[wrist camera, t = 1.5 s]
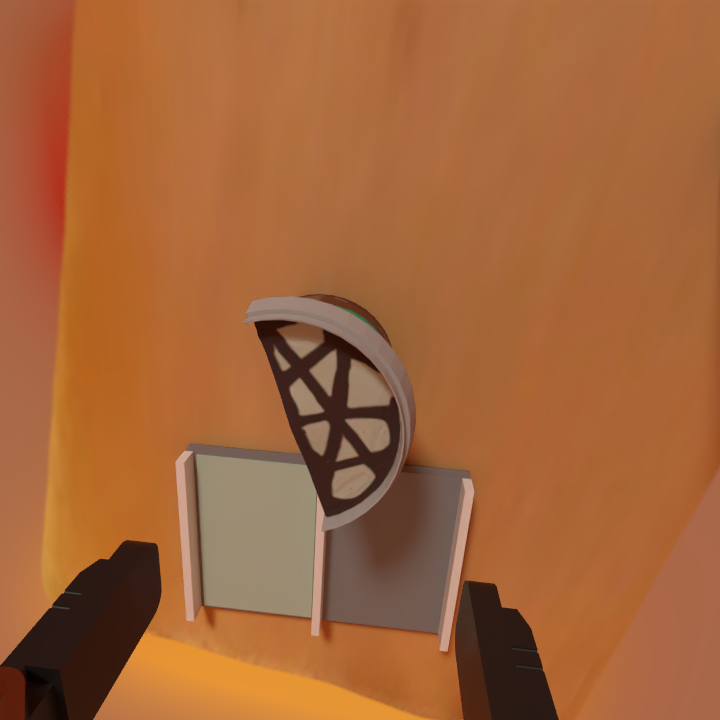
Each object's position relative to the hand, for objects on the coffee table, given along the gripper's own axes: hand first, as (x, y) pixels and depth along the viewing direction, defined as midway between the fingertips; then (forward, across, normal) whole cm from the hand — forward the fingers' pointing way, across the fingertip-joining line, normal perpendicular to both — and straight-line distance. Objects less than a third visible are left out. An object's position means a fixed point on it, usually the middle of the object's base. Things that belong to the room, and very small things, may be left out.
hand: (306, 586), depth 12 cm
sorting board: (+20, +2, +15) cm, 25 cm away
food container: (+20, 0, 0) cm, 20 cm away
